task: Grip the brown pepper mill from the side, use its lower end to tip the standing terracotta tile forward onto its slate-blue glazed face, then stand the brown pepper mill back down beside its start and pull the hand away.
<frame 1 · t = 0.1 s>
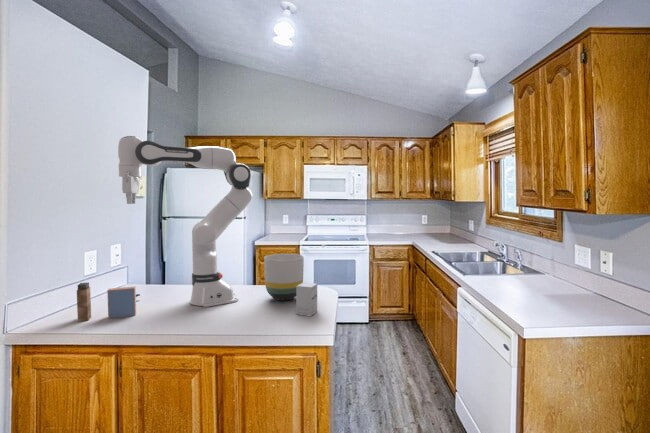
hand: (131, 203, 155), 48 cm above the worktop, tool pointing down, fingers open, 8 cm apart
planter: (284, 299, 173), on the worktop
supplement box: (306, 313, 152), on the worktop
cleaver: (130, 303, 166), on the worktop
brown pepper mill: (84, 319, 143), on the worktop
tile: (122, 316, 148), on the worktop
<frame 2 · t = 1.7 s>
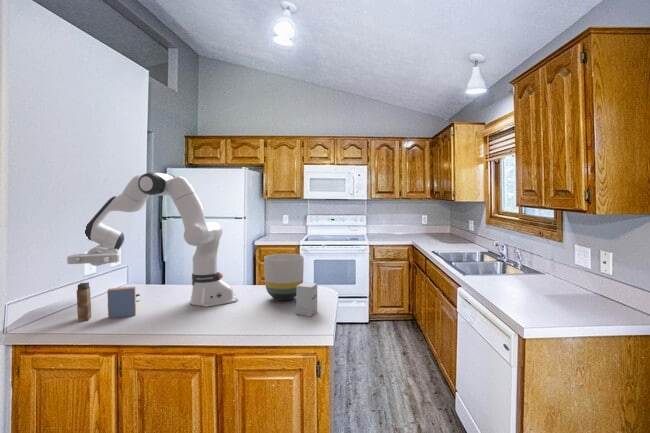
hand: (90, 261, 153), 22 cm above the worktop, tool horizontal, fingers open, 8 cm apart
nothing on the worktop moved.
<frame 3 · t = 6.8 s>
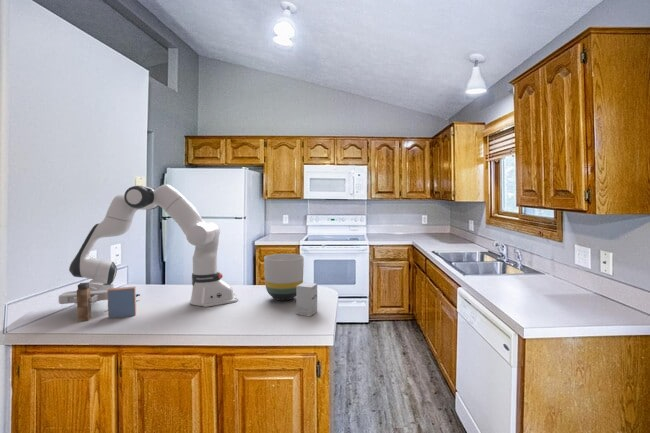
hand: (83, 300, 142), 8 cm above the worktop, tool horizontal, fingers closed on brown pepper mill, 3 cm apart
brown pepper mill: (84, 319, 143), on the worktop, touching gripper
everything else where it was.
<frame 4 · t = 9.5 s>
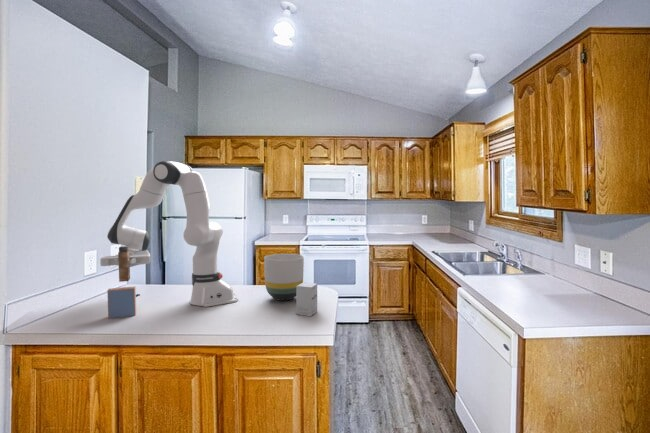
hand: (123, 262, 153), 22 cm above the worktop, tool horizontal, fingers closed on brown pepper mill, 3 cm apart
brown pepper mill: (124, 280, 154), point 14 cm above the worktop, touching gripper
everything else where it was.
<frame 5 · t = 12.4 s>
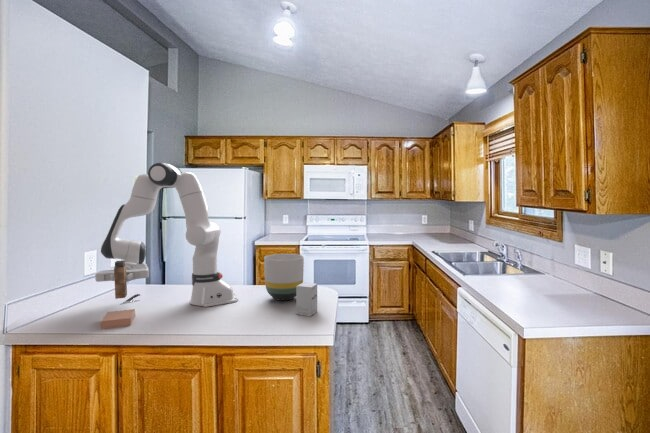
hand: (120, 278, 144), 17 cm above the worktop, tool horizontal, fingers closed on brown pepper mill, 3 cm apart
brown pepper mill: (121, 296, 145), point 9 cm above the worktop, touching gripper
tile: (121, 313, 146), point 2 cm above the worktop, tilted 90°
everything else where it was.
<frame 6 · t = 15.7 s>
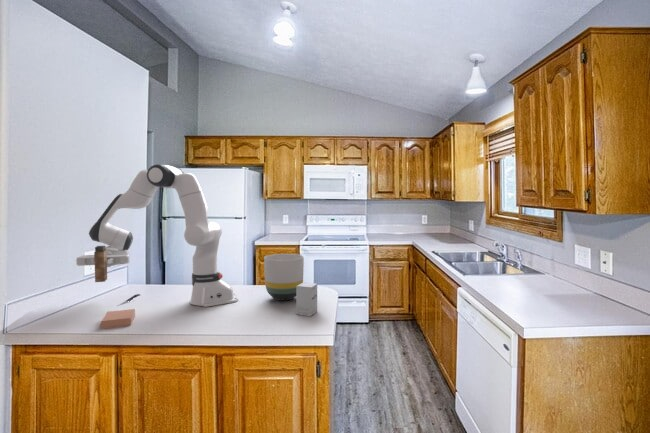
hand: (100, 262, 149), 23 cm above the worktop, tool horizontal, fingers closed on brown pepper mill, 3 cm apart
brown pepper mill: (101, 280, 150), point 15 cm above the worktop, touching gripper
everything else where it was.
when the fingers open (9 cm above the worktop, at t = 18.7 s): brown pepper mill drops 1 cm, on the worktop.
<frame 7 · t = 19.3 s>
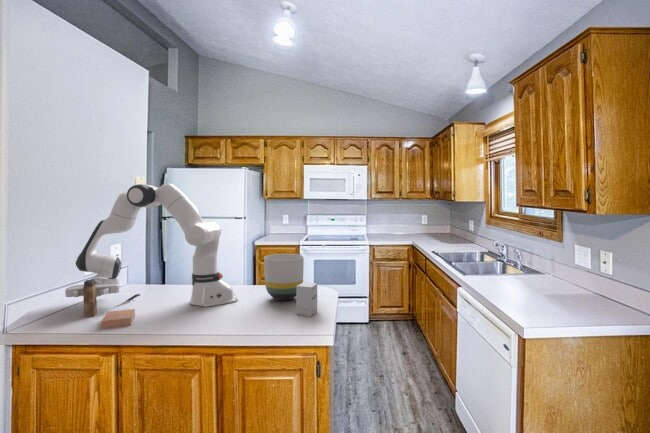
hand: (89, 294, 147), 9 cm above the worktop, tool horizontal, fingers open, 8 cm apart
brown pepper mill: (90, 314, 149), on the worktop
everything else where it was.
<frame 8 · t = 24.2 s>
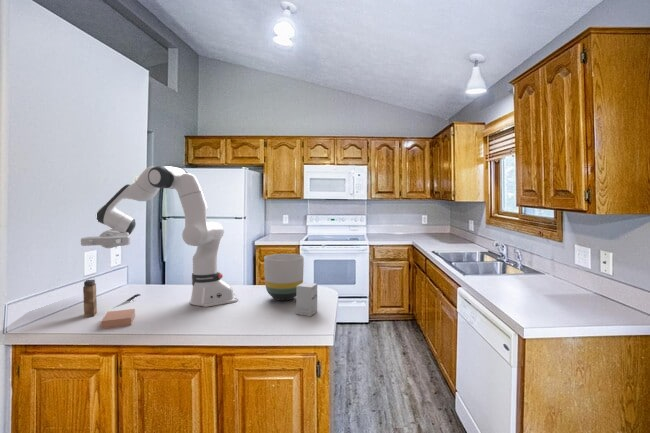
hand: (103, 242, 159), 30 cm above the worktop, tool horizontal, fingers open, 8 cm apart
nothing on the worktop moved.
at the end: tile tilted 90°; tile inside the target area (4.6 cm from its centre), point 1.5 cm above the worktop; brown pepper mill tilted 0° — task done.
